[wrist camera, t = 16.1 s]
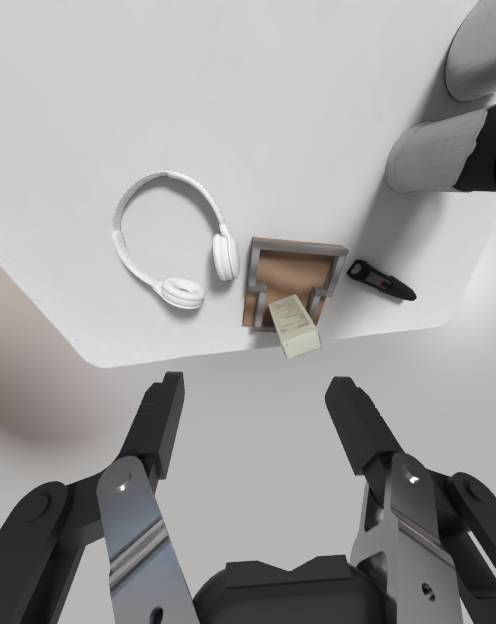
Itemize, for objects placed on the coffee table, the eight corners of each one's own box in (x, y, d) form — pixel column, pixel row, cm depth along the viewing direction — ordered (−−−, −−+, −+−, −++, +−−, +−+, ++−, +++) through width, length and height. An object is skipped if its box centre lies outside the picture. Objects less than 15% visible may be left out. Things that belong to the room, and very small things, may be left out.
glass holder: (398, 121, 29) (528, 72, 16) (494, 121, 29) (694, 73, 16) (377, 193, 33) (465, 200, 21) (461, 191, 34) (596, 197, 21)
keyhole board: (252, 237, 36) (253, 241, 33) (341, 245, 37) (348, 250, 35) (243, 322, 46) (243, 330, 43) (313, 326, 47) (318, 334, 45)
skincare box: (273, 319, 44) (285, 361, 34) (267, 303, 42) (278, 342, 32) (302, 309, 43) (323, 349, 33) (297, 293, 41) (318, 330, 31)
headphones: (259, 265, 31) (160, 134, 25) (176, 328, 36) (77, 233, 30) (258, 257, 37) (180, 151, 31) (188, 311, 43) (109, 230, 36)
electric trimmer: (398, 300, 45) (408, 307, 43) (344, 274, 41) (352, 280, 38) (411, 285, 44) (423, 292, 41) (357, 257, 39) (366, 262, 36)
